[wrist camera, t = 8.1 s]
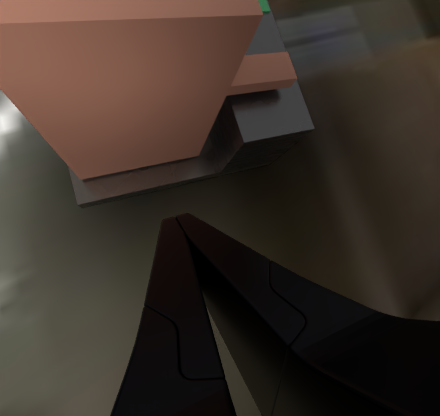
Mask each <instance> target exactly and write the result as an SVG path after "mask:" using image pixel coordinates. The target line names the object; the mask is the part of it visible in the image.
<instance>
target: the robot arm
mask: <svg viewBox="0 0 440 416" xmlns="http://www.w3.org/2000/svg"><path fill="white" fill-rule="evenodd" d="M206 307H207V308H208V310H209V312H210V314H211V316H212V318H213V320H214V322H215V324H216V326H217V328H218V330H219V332H220V334H221V336H222V338H223V340H224V342H225V344H226V346H227V348H228V350H229V352H230V354H231V356H232V358H233V360H234V361H235V363H236V365H237V367H238V369H239V371H240V373H241V375H242V377H243V379H244V381H245V383H246V385H247V387H248V389H249V391H250V393H251V395H252V397H253V399H254V401H255V403H256V405H257V407H258V409H259V411H260V413H261V414H262V416H440V321H429V320H416V319H406V318H400V317H395V316H391V315H388V314H384V313H381V312H379V311H376V310H373V309H371V308H369V307H366V306H364V305H362V304H360V303H358V302H355V301H353V300H351V299H349V298H346V297H344V296H342V295H340V294H338V293H335V292H333V291H331V290H329V289H327V288H324V287H322V286H320V285H318V284H316V283H314V282H312V281H309V280H307V279H305V278H303V277H301V276H299V275H297V274H295V273H294V272H292V271H290V270H288V269H286V268H284V267H282V266H281V265H279V264H277V263H275V262H274V261H270V260H269V259H268V258H266V257H265V256H263V255H261V254H259V253H258V252H256V251H254V250H252V249H251V248H249V247H247V246H245V245H244V244H242V243H240V242H238V241H237V240H235V239H233V238H231V237H230V236H228V235H226V234H224V233H223V232H221V231H219V230H217V229H216V228H214V227H212V226H210V225H209V224H207V223H205V222H203V221H202V220H200V219H198V218H196V217H195V216H193V215H191V214H189V213H185V214H181V215H178V216H176V218H175V217H170V218H167V219H163V220H162V222H161V227H160V232H159V236H158V241H157V246H156V251H155V255H154V260H153V265H152V269H151V274H150V279H149V284H148V288H147V293H146V298H145V303H144V308H143V311H142V316H141V321H140V325H139V329H138V333H137V337H136V341H135V344H134V347H133V350H132V354H131V357H130V360H129V363H128V366H127V369H126V372H125V375H124V378H123V381H122V383H121V386H120V389H119V392H118V395H117V398H116V401H115V403H114V406H113V409H112V412H111V415H110V416H237V415H236V412H235V409H234V405H233V402H232V399H231V396H230V392H229V389H228V385H227V382H226V380H225V374H224V370H223V367H222V363H221V359H220V356H219V352H218V348H217V345H216V341H215V337H214V334H213V330H212V326H211V323H210V319H209V315H208V312H207V308H206Z"/></svg>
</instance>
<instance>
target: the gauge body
mask: <svg viewBox="0 0 440 416" xmlns="http://www.w3.org/2000/svg"><path fill="white" fill-rule="evenodd" d="M258 1H259V4H260V7H261V10H262V12H263V17H262V19H261V21H260V23H259V25H258V28H257V30H256V32H255V34H254V36H253V39H252V41H251V43H250V45H249V47H248V49H247V52H246V54H245V55H255V54H267V53H278V52H286V49H285V47H284V44H283V41H282V39H281V36H280V33H279V30H278V28H277V25H276V22H275V19H274V17H273V14H272V11H271V9H270V6H269V3H268V0H258ZM314 129H315V128H314V125H313V123H312V120H311V117H310V115H309V112H308V109H307V106H306V104H305V101H304V98H303V96H302V93H301V90H300V87H299V85H298V82H297V79H296V81H295V82H294V83H293V84H292V86H291V87H288V88H281V89H273V90H266V91H258V92H251V93H243V94H236V95H228V96H226V97H225V100H224V102H223V104H222V106H221V108H220V110H219V113H218V115H217V117H216V119H215V121H214V124H213V126H212V128H211V130H210V132H209V134H208V137H207V139H206V141H205V143H204V145H203V148H202V150H201V152H200V154H199V156H195V157H190V158H185V159H180V160H175V161H170V162H165V163H160V164H156V165H151V166H146V167H141V168H136V169H131V170H126V171H121V172H116V173H111V174H106V175H101V176H96V177H91V178H87V179H82V180H80V179H79V177H78V176H77V175H76V174H75V173H74V172H73V171H72V170H71V168H70V167H69V166H68V168H69V172H70V176H71V180H72V184H73V188H74V192H75V196H76V200H77V204H78V205H79V206H80V207H81V208H85V207H89V206H94V205H98V204H102V203H106V202H111V201H115V200H119V199H123V198H128V197H132V196H136V195H141V194H145V193H149V192H153V191H158V190H162V189H166V188H171V187H175V186H179V185H183V184H188V183H192V182H196V181H201V180H205V179H209V178H213V177H218V176H222V175H226V174H230V173H235V172H239V171H243V170H248V169H252V168H256V167H260V166H265V165H269V164H271V163H272V162H274V161H275V160H276V159H277V158H279V157H280V156H281V155H282V154H284V153H285V152H286V151H287V150H289V149H290V148H291V147H292V146H294V145H295V144H296V143H297V142H299V141H300V140H301V139H302V138H304V137H305V136H306V135H307V134H309V133H310V132H311V131H312V130H314Z"/></svg>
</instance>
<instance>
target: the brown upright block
mask: <svg viewBox="0 0 440 416" xmlns="http://www.w3.org/2000/svg"><path fill="white" fill-rule="evenodd" d="M262 17H263V12H262V10H261V7H260V4H259V1H258V0H0V89H1V90H2V91H3V92H4V94H5V95H6V96H7V97H8V98H9V99H10V100H11V102H12V103H13V104H14V105H15V106H16V107H17V108H18V109H19V111H20V112H21V113H22V114H23V115H24V116H25V117H26V119H27V120H28V121H29V122H30V123H31V124H32V125H33V126H34V128H35V129H36V130H37V131H38V132H39V133H40V134H41V136H42V137H43V138H44V139H45V140H46V141H47V142H48V143H49V145H50V146H51V147H52V148H53V149H54V150H55V151H56V153H57V154H58V155H59V156H60V157H61V158H62V159H63V160H64V162H65V163H66V164H67V165H68V166H69V167H70V168H71V170H72V171H73V172H74V173H75V174H76V175H77V176H78V177H79V179H80V180H82V179H87V178H91V177H96V176H101V175H106V174H111V173H116V172H121V171H126V170H131V169H136V168H141V167H146V166H151V165H156V164H160V163H165V162H170V161H175V160H180V159H185V158H190V157H195V156H199V154H200V152H201V150H202V148H203V145H204V143H205V141H206V139H207V137H208V134H209V132H210V130H211V128H212V126H213V124H214V121H215V119H216V117H217V115H218V113H219V110H220V108H221V106H222V104H223V102H224V100H225V97H226V96H228V95H236V94H243V93H251V92H258V91H266V90H273V89H281V88H288V87H291V86H292V84H293V83H294V82H295V81H296V79H297V76H296V73H295V70H294V67H293V65H292V62H291V59H290V57H289V54H288V52H278V53H267V54H255V55H245V54H246V52H247V49H248V47H249V45H250V43H251V41H252V39H253V36H254V34H255V32H256V30H257V28H258V25H259V23H260V21H261V19H262Z"/></svg>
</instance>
